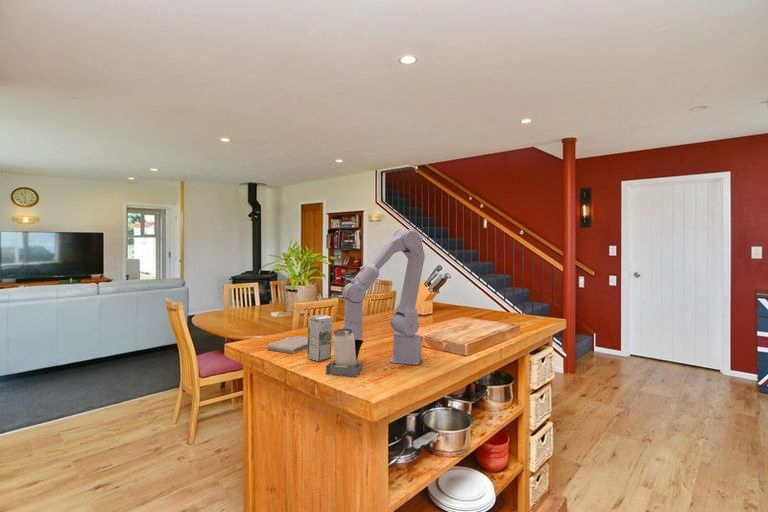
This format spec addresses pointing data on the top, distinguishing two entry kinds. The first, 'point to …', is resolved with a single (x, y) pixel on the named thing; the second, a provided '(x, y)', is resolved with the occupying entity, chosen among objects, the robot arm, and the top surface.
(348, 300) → the robot arm
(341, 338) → the can
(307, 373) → the top surface
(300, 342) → the washcloth
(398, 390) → the top surface
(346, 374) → the metal bracket
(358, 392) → the top surface
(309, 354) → the syrup box
